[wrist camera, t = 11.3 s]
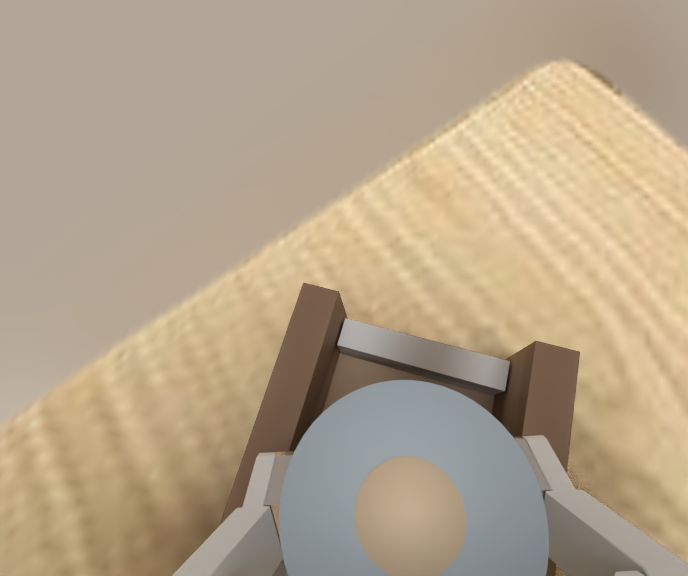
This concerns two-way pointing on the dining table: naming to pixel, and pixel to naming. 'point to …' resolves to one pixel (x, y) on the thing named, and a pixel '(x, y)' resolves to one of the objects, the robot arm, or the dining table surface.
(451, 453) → the paper roll
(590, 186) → the dining table surface
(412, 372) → the holder
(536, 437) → the robot arm
